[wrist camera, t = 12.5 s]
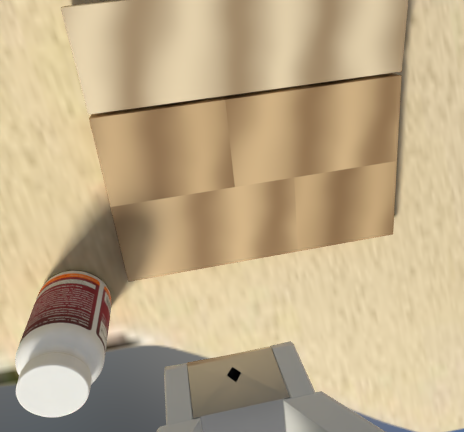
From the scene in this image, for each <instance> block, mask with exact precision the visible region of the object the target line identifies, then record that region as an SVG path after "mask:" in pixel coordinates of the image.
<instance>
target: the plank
mask: <svg viewBox="0 0 464 432" xmlns="http://www.w3.org/2000/svg"><path fill="white" fill-rule="evenodd" d="M407 9H408V0H116V1H107V2H98V3H89V4H80V5H71V6H64V7H61V11H62V15H63V19H64V22H65V26H66V30H67V34H68V38H69V42H70V46H71V50H72V54H73V58H74V62H75V65H76V69H77V73H78V77H79V81H80V85H81V89H82V93H83V97H84V101H85V104H86V108H87V112H88V115H89V114H96V113H104V112H111V111H118V110H125V109H133V108H140V107H147V106H154V105H162V104H169V103H176V102H183V101H191V100H198V99H205V98H212V97H220V96H227V95H234V94H241V93H249V92H256V91H263V90H270V89H278V88H285V87H292V86H300V85H307V84H314V83H321V82H329V81H336V80H343V79H350V78H358V77H365V76H372V75H379V74H387V73H394V72H401V71H402V62H403V52H404V41H405V31H406V20H407Z"/></svg>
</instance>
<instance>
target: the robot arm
mask: <svg viewBox="0 0 464 432" xmlns="http://www.w3.org/2000/svg"><path fill="white" fill-rule="evenodd" d="M164 378H165V379H164V380H165V404H166V426H161V427H159V429H158V430H157V432H385V431H383V430H382V429H380V428H378V427H377V426H375V425H374V424H372V423H371V422H369V421H367V420H366V419H364V418H363V417H361V416H360V415H358V414H357V413H355V412H353V411H352V410H350V409H349V408H347V407H345V406H344V405H342V404H341V403H339V402H338V401H336V400H334V399H333V398H331V397H330V396H328V395H327V394H325V393H323V392H322V391H321V392H316V393H315V391H314V389H313V386H312V384H311V382H310V380H309V377H308V375H307V373H306V371H305V369H304V366H303V364H302V362H301V360H300V358H299V355H298V353H297V351H296V349H295V346H294V344H293V343H292V342H286V343H281V344H277V345H272V346H270V347H264V348H260V349H255V350H250V351H246V352H241V353H236V354H231V355H227V356H221V357H216V358H210V359H204V360H199V361H193V362H188V363H185V364H179V365H174V366H168V367H165V371H164Z"/></svg>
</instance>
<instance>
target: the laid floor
mask: <svg viewBox="0 0 464 432" xmlns="http://www.w3.org/2000/svg"><path fill="white" fill-rule="evenodd" d="M400 93H401V75H397V74H393V73H389V74H382V75H375V76H367V77H360V78H353V79H346V80H338V81H331V82H324V83H316V84H309V85H302V86H295V87H287V88H280V89H273V90H266V91H258V92H251V93H244V94H237V95H229V96H222V97H215V98H208V99H200V100H193V101H186V102H179V103H171V104H164V105H157V106H150V107H142V108H135V109H128V110H121V111H113V112H106V113H99V114H92V115H91V116H90V118H89V120H90V125H91V129H92V133H93V137H94V141H95V145H96V149H97V154H98V158H99V162H100V166H101V170H102V174H103V178H104V183H105V187H106V191H107V195H108V199H109V203H110V207H111V212H112V216H113V220H114V224H115V228H116V232H117V236H118V240H119V245H120V249H121V253H122V257H123V261H124V265H125V269H126V274H127V278H128V282H130V281H135V280H141V279H146V278H152V277H158V276H163V275H169V274H174V273H180V272H185V271H191V270H197V269H202V268H208V267H213V266H219V265H224V264H230V263H235V262H241V261H247V260H252V259H258V258H263V257H269V256H274V255H280V254H285V253H291V252H297V251H302V250H308V249H313V248H319V247H324V246H330V245H336V244H341V243H347V242H352V241H358V240H363V239H369V238H374V237H380V236H386V235H391V234H393V225H394V206H395V187H396V168H397V149H398V130H399V112H400Z"/></svg>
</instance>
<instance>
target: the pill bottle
mask: <svg viewBox="0 0 464 432" xmlns="http://www.w3.org/2000/svg"><path fill="white" fill-rule="evenodd" d="M110 312H111V295H110V292H109V289H108V288H107V286H106V285H105V284H104V282H103V281H102V280H100V279H99V278H98V277H96V276H94V275H92V274H90V273H87V272H82V271H66V272H62V273H59V274H57V275H55V276H53V277H52V278H50V279H49V280H48V281H47V282H46V283H45V284H44V285H43V287H42V288H41V290H40V292H39V294H38V297H37V300H36V302H35V305H34V307H33V310H32V313H31V315H30V318H29V320H28V323H27V326H26V328H25V331H24V333H23V336H22V339H21V341H20V344H19V347H18V349H17V353H16V358H15V364H16V369H17V372H18V374H19V379H18V382H17V386H16V396H17V399H18V401H19V402H20V404H21V405H22V406H23V407H24V408H25V409H26V410H28V411H29V412H31V413H33V414H36V415H39V416H44V417H60V416H65V415H68V414H71V413H73V412H74V411H76V410H78V409H79V408H80V407H81V406H82V405H83V404H84V403H85V402H86V400H87V398H88V395H89V391H90V386H91V384H92V383H93V382H94V381H95V380H96V378H97V377H98V376H99V374H100V373H101V370H102V367H103V365H104V359H105V352H106V344H107V336H108V327H109V320H110Z"/></svg>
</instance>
